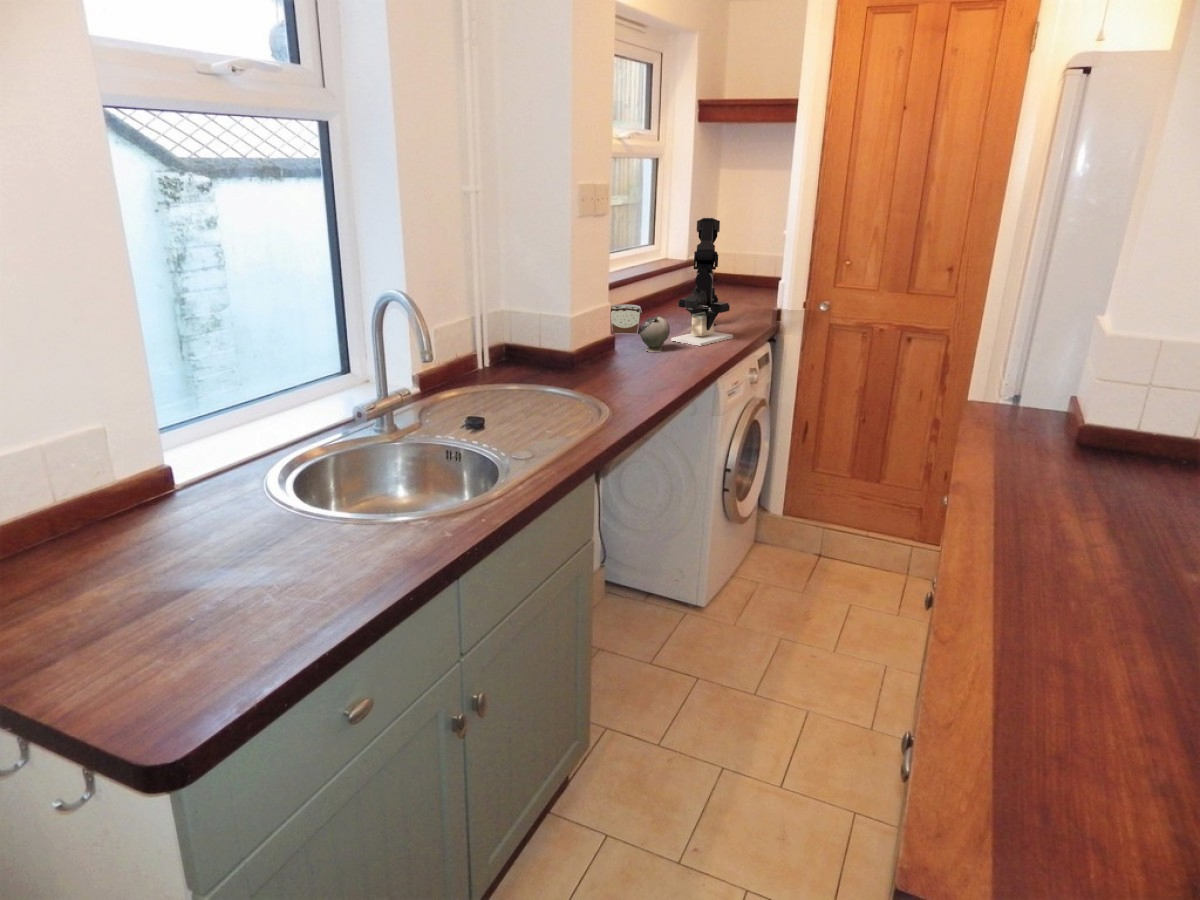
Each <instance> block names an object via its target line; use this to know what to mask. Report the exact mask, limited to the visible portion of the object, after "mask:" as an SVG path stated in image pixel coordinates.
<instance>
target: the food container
mask: <svg viewBox="0 0 1200 900" xmlns="http://www.w3.org/2000/svg"><path fill="white" fill-rule="evenodd" d="M611 307H612V309H611V316H610V323H611V332H612V331H613V333H615V334H614V335H639V333H638V332H639V326H640V325H639V324H640V316H641V314H642V313H643V312H642V308H641V306H640V305H637V304H613V305H611Z"/></svg>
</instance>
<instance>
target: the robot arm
mask: <svg viewBox="0 0 1200 900" xmlns="http://www.w3.org/2000/svg"><path fill="white" fill-rule="evenodd" d="M720 226H721V221H720V220H718V219H715V218H714V217H703V218H701V219H698V220H696V233H698V239H699V241H700V243H698V244H697V245H696V251H694V257H693V270H697V271H696V276H695V279H694V280H695V281H694V283H695V287H694V288H693V289H692V293H691V294H690V295H688V296H687V297H683V298H680V299H679V300H678V304H677V305H678V308H685V311H688V312H689V314H690V316H692V314H697V313H701V312H705V313H706V315H707V330H710V328H711V326H712V324H713V322H714V326H717V324H716V323H715V320H716V318H717V317H718V315H719V314H723V313H727V312H730V304H729V302H724V301H719V298H718V296H717V294H716V290H715V289H716V287H714V284H713V283H714V270H716V269H717V268H718V267H719V254H718V251H716V245H715V244H714V243H715V242H716V240H717V238H718V234H719V233H720V228H721V227H720Z"/></svg>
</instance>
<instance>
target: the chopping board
mask: <svg viewBox="0 0 1200 900" xmlns="http://www.w3.org/2000/svg"><path fill="white" fill-rule="evenodd" d="M733 338H734V335H733V334H729V333H724V332H718V331H714V332H713V333H711V334H707V335H703V336H699V335H693V334H691V332H690V333H686V334H682V335H678V336H673V337H670V339H671V340H670V342H672V341H676V342H675V343H677V342H681V343H680V344H683V343H688V344H692V345H691V346H693V345H699V346H702V345H706V344H709V345H711V344H710V343H713V344H715V343H714V342H717V343H719V341H721V342H724V341H727V339H728V340H731V339H733ZM723 340H724V341H723ZM688 344H687V345H688ZM706 346H707V345H706ZM702 347H703V346H702Z"/></svg>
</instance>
